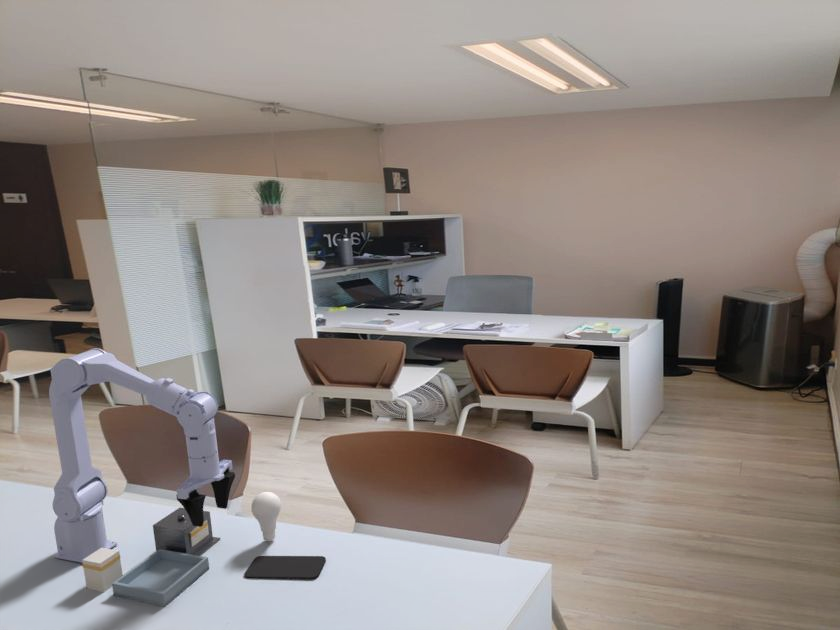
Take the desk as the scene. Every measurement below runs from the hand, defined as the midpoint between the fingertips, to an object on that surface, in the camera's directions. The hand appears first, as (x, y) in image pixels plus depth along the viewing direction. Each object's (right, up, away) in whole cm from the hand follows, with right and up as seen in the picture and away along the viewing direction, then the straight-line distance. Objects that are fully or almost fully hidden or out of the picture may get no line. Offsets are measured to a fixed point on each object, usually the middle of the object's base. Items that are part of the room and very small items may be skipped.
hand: (210, 516), depth 126 cm
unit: (-7, -9, +5) cm, 12 cm away
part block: (-18, -11, -6) cm, 22 cm away
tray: (-7, -11, -7) cm, 14 cm away
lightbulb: (+11, -8, +6) cm, 14 cm away
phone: (+16, -9, -4) cm, 19 cm away
